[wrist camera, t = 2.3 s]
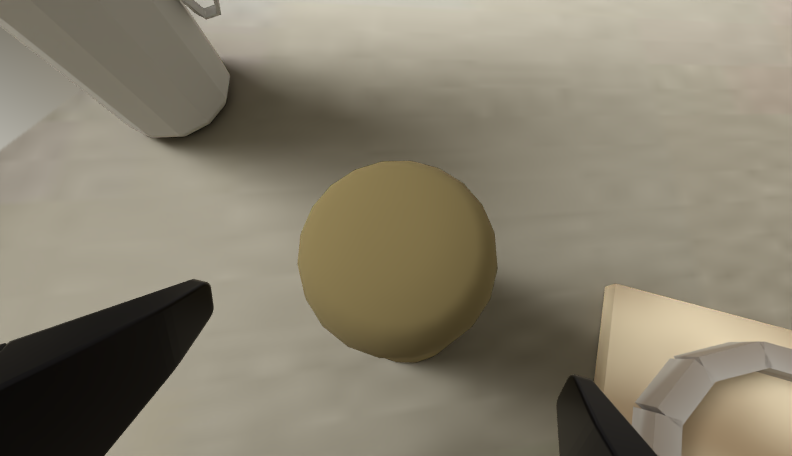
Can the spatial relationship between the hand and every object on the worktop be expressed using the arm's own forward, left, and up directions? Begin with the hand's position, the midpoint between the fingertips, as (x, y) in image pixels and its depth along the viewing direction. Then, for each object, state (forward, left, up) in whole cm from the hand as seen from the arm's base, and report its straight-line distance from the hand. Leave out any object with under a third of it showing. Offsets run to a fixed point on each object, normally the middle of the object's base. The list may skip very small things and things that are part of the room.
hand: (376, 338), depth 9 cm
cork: (+2, 0, -10) cm, 10 cm away
